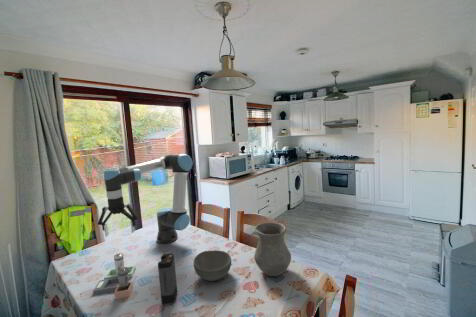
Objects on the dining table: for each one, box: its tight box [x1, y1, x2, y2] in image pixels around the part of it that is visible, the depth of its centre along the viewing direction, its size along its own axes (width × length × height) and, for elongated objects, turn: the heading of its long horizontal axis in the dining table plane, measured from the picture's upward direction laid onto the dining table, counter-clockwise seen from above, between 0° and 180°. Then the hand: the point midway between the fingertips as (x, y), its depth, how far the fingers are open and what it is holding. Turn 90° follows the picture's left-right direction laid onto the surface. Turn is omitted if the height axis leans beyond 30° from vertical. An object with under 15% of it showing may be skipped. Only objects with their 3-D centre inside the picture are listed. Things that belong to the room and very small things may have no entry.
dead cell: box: [118, 266, 130, 291], centre depth 110 cm, size 4×4×13 cm
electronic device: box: [157, 252, 178, 306], centre depth 105 cm, size 9×6×20 cm, turn 5°
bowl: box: [193, 249, 232, 282], centre depth 121 cm, size 20×20×10 cm
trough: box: [103, 265, 137, 280], centre depth 125 cm, size 14×8×3 cm, turn 101°
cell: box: [113, 252, 125, 275], centre depth 125 cm, size 4×4×13 cm
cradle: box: [92, 277, 119, 295], centre depth 116 cm, size 12×8×3 cm
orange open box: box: [114, 281, 134, 300], centre depth 110 cm, size 6×6×4 cm
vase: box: [254, 221, 292, 277], centre depth 120 cm, size 20×19×25 cm
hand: (120, 233), depth 126 cm, fingers open, 13 cm apart
